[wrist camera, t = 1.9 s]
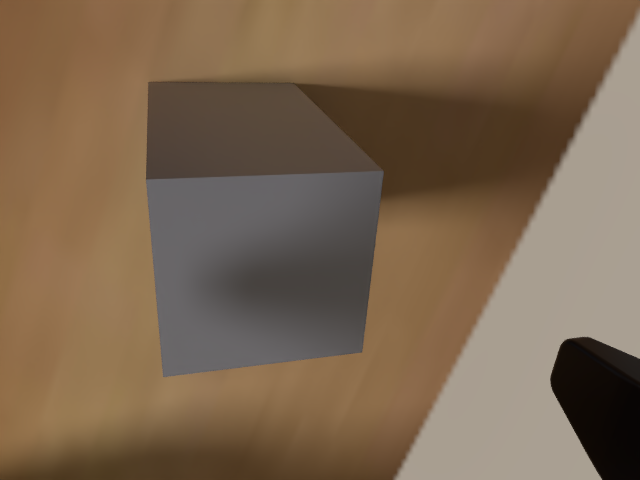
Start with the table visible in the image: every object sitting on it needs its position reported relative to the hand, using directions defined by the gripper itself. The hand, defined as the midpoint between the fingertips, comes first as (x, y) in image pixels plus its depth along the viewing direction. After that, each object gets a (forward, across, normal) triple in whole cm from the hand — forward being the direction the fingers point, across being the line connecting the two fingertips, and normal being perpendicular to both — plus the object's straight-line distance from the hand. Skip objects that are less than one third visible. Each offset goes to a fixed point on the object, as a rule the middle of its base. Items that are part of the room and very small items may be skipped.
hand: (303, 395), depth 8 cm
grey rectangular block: (+11, 0, 0) cm, 11 cm away
